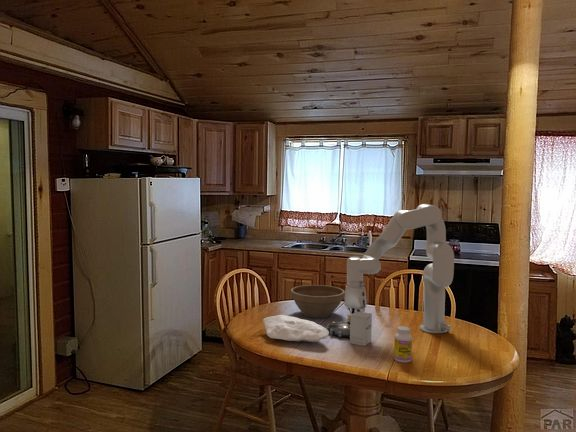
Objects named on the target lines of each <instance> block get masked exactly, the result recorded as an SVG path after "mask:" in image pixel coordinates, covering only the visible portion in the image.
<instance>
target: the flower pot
mask: <svg viewBox="0 0 576 432" xmlns="http://www.w3.org/2000/svg"><path fill="white" fill-rule="evenodd" d="M344 296H345V290H344V289H343V288H340V287H336V286H332V285H321V284H307V285H298V286H295V287H293V288H291V289H290V297H291V298H292V299H293V300H294V303H295V305H296V306H297V309H298V310H300V312H301V313H303V315H304V316H305V317H308V318H314V319H316V318H317V319H319V318H320V319H321V318H327V317H330V316H331V314H332V313H334V312H335V311H336V310H337V309H338V307H339V306H340V304H341V302H342V301H344Z"/></svg>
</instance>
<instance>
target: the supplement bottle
mask: <svg viewBox="0 0 576 432" xmlns="http://www.w3.org/2000/svg"><path fill="white" fill-rule="evenodd" d="M410 332H411V328H410V327H409V326H404V325H401V326H397V333H395V335H394V345H393V346H394V348H393V350H394V351H393V359H394V360H395V361H396V362H399V363H404V364H405V363H409V362H411V361H412V353H413V351H412V350H413V336H412V334H411V333H410Z"/></svg>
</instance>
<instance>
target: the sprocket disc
mask: <svg viewBox="0 0 576 432" xmlns="http://www.w3.org/2000/svg"><path fill="white" fill-rule="evenodd" d="M350 315H351V314H350V313H349V314H347V321H343V320H340V321H332V322H331V323H328V324H326V325H327V327H326V329H327V330H328V331H329V334H330V335H332V336H333V335H334V336H338V338H339V337H341V338H342V337H347V338H350Z"/></svg>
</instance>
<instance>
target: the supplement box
mask: <svg viewBox="0 0 576 432" xmlns="http://www.w3.org/2000/svg"><path fill="white" fill-rule="evenodd" d="M372 317H373V313H371V312H370V313H369V312H355V313H353V314H352V315H351V314H350V337H349V344H353V345H356V346H363V347H366V345H368V344H369V343H371V342H372V326H373V325H372V324H373V323H372V322H373V321H372V320H373V319H372Z"/></svg>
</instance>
